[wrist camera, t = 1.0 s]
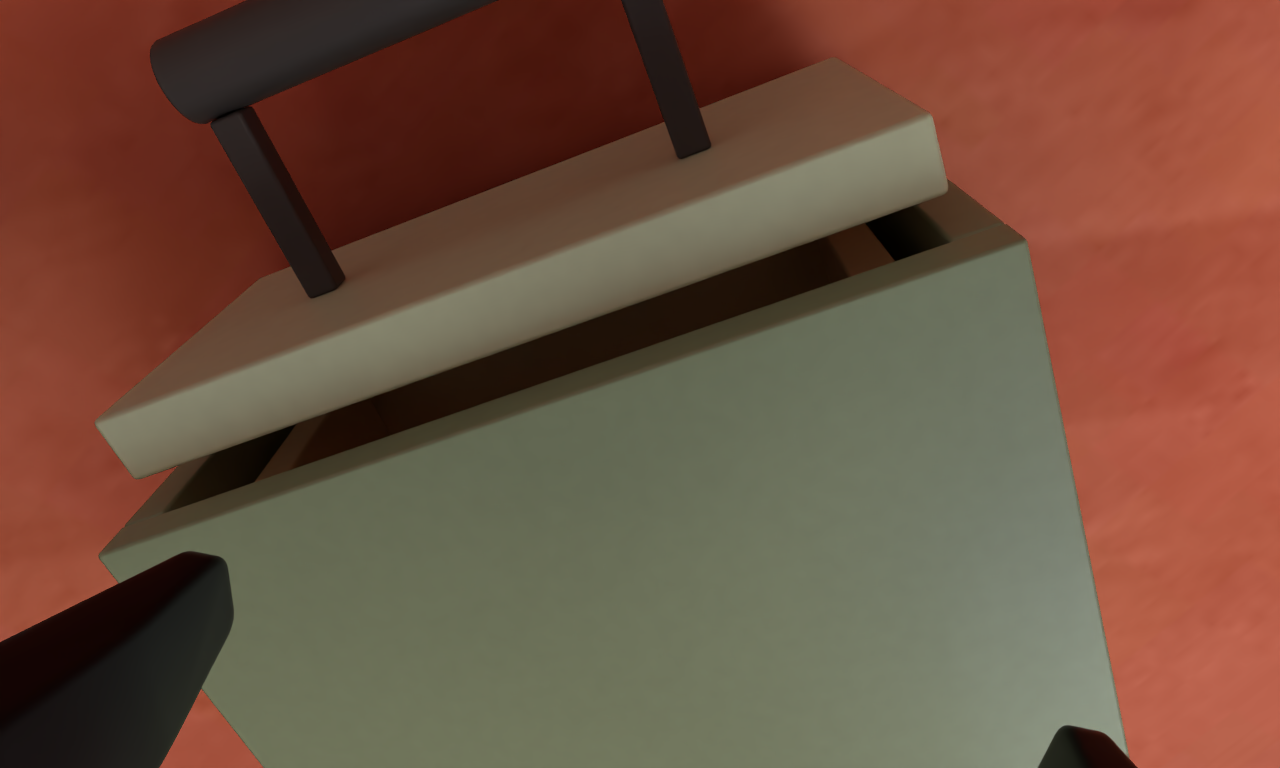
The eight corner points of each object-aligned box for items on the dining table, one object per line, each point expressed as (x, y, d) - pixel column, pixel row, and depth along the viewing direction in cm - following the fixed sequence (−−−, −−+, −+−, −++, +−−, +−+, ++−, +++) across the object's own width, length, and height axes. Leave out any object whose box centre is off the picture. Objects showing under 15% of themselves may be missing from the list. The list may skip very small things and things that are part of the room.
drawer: (135, 72, 18) (-121, 136, 12) (765, -205, 16) (839, -296, 10) (521, 722, 26) (483, 960, 20) (980, 593, 24) (1095, 815, 18)
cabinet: (289, 339, 22) (95, 555, 14) (876, 122, 20) (1028, 237, 12) (544, 768, 28) (506, 1079, 20) (1011, 643, 26) (1166, 940, 18)
